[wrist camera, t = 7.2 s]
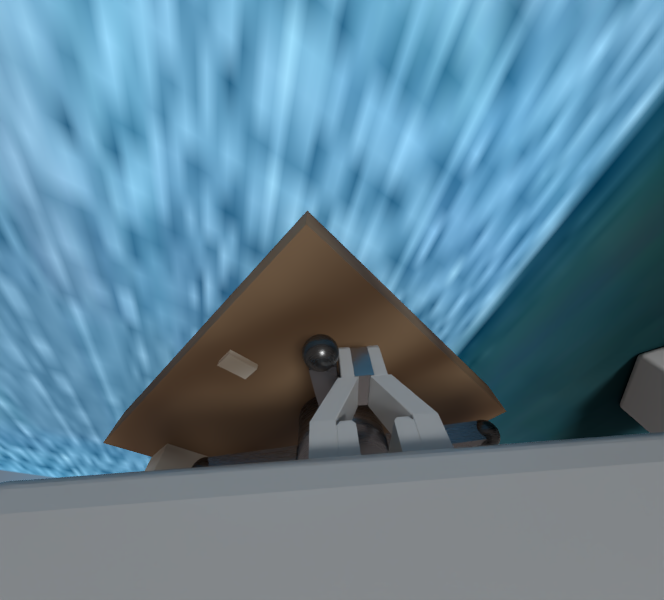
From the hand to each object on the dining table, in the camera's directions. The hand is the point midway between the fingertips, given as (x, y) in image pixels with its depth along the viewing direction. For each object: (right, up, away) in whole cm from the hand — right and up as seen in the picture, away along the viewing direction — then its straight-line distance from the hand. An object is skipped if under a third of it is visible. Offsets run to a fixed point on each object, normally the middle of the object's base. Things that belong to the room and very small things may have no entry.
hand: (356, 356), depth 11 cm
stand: (-3, -5, +7) cm, 9 cm away
